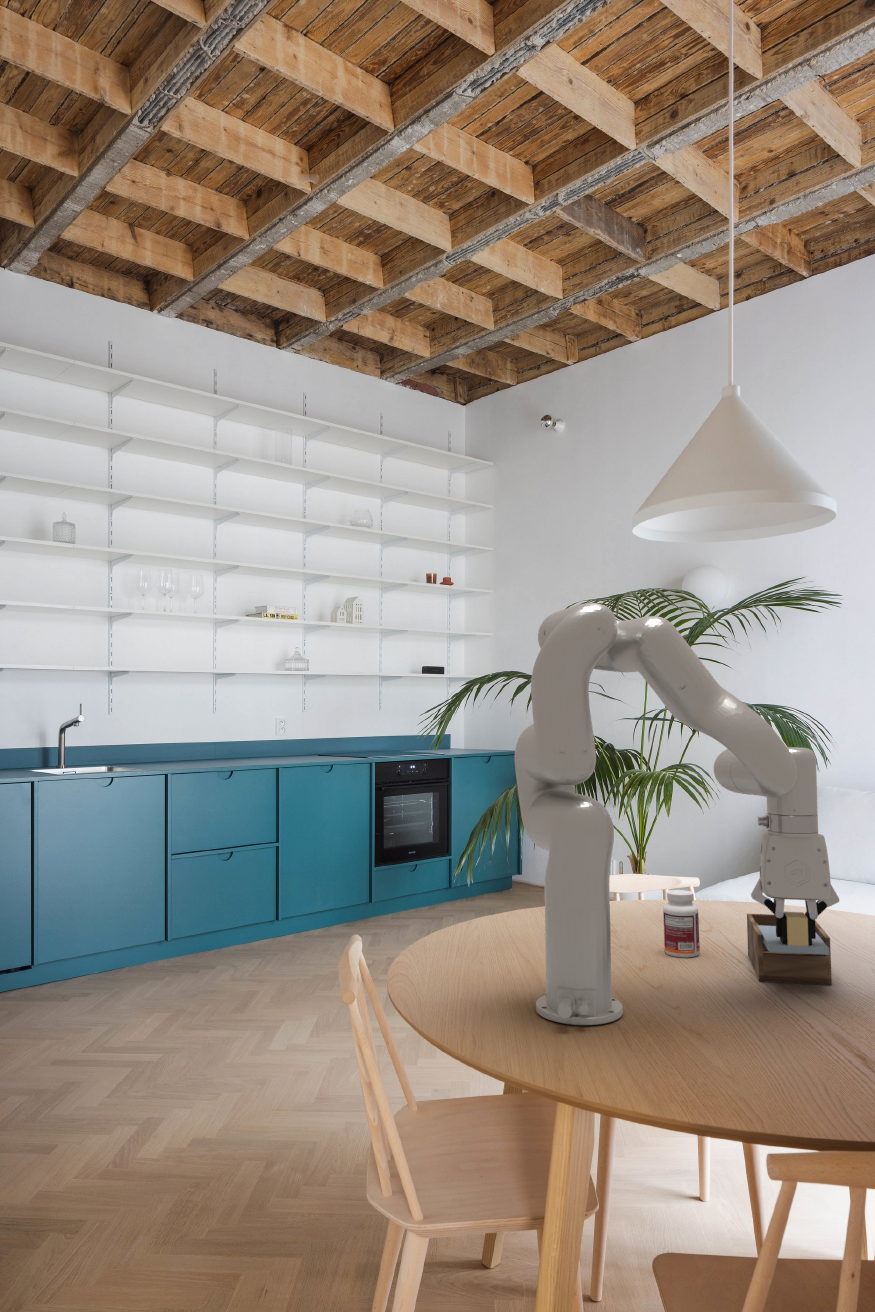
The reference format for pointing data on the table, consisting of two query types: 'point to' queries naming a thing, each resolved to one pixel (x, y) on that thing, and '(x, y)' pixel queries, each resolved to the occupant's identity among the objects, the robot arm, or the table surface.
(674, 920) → the pill bottle
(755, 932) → the walnut box
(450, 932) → the table surface
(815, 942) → the cover plate
